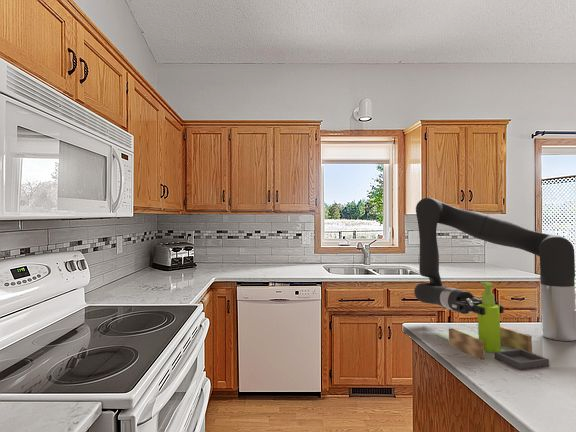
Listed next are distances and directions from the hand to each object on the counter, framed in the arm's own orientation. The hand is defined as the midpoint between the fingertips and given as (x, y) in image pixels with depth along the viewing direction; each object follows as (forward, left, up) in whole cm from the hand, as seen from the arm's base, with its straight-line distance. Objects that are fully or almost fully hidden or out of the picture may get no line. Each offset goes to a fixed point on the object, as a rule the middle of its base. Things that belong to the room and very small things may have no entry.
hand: (493, 310), depth 115 cm
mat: (+8, -13, -12) cm, 20 cm away
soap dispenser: (+1, -2, -12) cm, 12 cm away
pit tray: (-5, +8, -12) cm, 15 cm away
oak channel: (+1, -2, -12) cm, 12 cm away
